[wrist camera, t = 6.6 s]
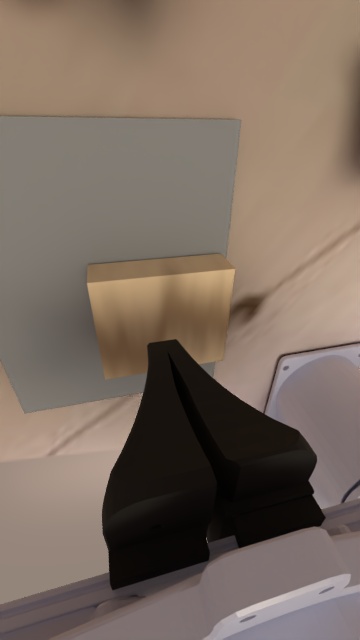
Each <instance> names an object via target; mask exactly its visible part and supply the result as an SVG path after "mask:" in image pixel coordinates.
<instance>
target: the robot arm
mask: <svg viewBox="0 0 360 640" xmlns="http://www.w3.org/2000/svg"><path fill="white" fill-rule="evenodd" d="M147 353H148V370H147V378H146V383H145V388H144V392H143V396H142V400H141V404H140V407H139V410H138V413H137V416H136V419H135V422H134V424H133V427H132V429H131V432H130V434H129V436H128V439H127V441H126V443H125V445H124V448H123V450H122V452H121V454H120V456H119V458H118V459H117V461H116V463H115V465H114V467H113V469H112V471H111V473H110V478H109V481H108V485H107V488H106V493H105V497H104V502H103V509H102V526H103V536H104V539H105V541H106V544H107V547H108V550H109V573H105V574H102V575H99V576H95V577H92V578H88V579H85V580H82V581H78V582H75V583H71V584H68V585H65V586H61V587H58V588H55V589H51V590H48V591H45V592H41V593H38V594H34V595H31V596H28V597H24V598H21V599H18V600H14V601H11V602H8V603H4V604H1V605H0V640H360V370H359V367H360V343H358V344H352V345H347V346H341V347H335V348H329V349H323V350H317V351H311V352H305V353H299V354H293V355H287V356H284V357H282V358H281V359H280V361H279V364H278V368H277V371H276V375H275V378H274V382H273V386H272V389H271V393H270V396H269V400H268V404H267V407H266V411H265V414H264V413H262V412H260V411H258V410H256V409H255V408H253V407H252V406H250V405H248V404H247V403H245V402H244V401H242V400H240V399H239V398H238V397H236V396H235V395H233V394H232V393H231V392H229V391H228V390H227V389H225V388H224V387H223V386H222V385H220V384H219V383H218V382H217V381H216V380H215V379H214V378H212V377H211V376H210V375H209V374H208V373H207V372H206V371H205V370H204V369H203V368H202V367H201V366H200V365H199V364H198V363H197V362H196V361H195V360H194V359H193V358H192V357H191V356H190V354H189V353H188V352H187V351H186V350H185V349H184V347H183V346H182V345H181V344H180V342H179V341H178V340H177V339H173V340H166V341H159V342H152V343H149V344H148V345H147ZM319 505H320V506H321V507H322V508H324V509H320V507H319ZM206 537H207V540H206ZM207 541H208V543H207Z"/></svg>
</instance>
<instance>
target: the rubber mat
mask: <svg viewBox="0 0 360 640" xmlns="http://www.w3.org/2000/svg"><path fill="white" fill-rule="evenodd" d="M240 127H241V120H229V119H162V118H94V117H27V116H0V360H1V363H2V365H3V367H4V369H5V371H6V374H7V376H8V378H9V380H10V382H11V385H12V387H13V389H14V391H15V393H16V396H17V398H18V400H19V402H20V404H21V407H22V409H23V411H24V413H30V412H36V411H42V410H47V409H53V408H58V407H64V406H70V405H75V404H81V403H87V402H92V401H98V400H104V399H109V398H115V397H120V396H126V395H132V394H137V393H143V392H144V388H145V383H146V378H147V373H142V374H136V375H130V376H124V377H118V378H111V379H105V377H104V371H103V366H102V361H101V355H100V350H99V345H98V339H97V334H96V329H95V323H94V318H93V313H92V308H91V302H90V297H89V292H88V286H87V265H91V264H103V263H115V262H126V261H138V260H150V259H162V258H174V257H186V256H197V255H209V254H222V255H223V256H224V257H225V258H226V256H227V247H228V237H229V228H230V219H231V210H232V201H233V192H234V182H235V173H236V164H237V155H238V146H239V137H240ZM199 365H200V366H201V367H202V368H203V369H204V370H205V371H206V372H207V373H208V374H209V375H210V376H211V377H212V378H213V375H214V366H215V362H209V363H203V364H199Z"/></svg>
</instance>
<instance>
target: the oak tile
mask: <svg viewBox="0 0 360 640" xmlns="http://www.w3.org/2000/svg"><path fill="white" fill-rule="evenodd" d="M234 275H235V268H234V267H233V266H232V265H231V264H230V263H229V262H228V261H227V259H226V258H225V257H224V256H223V255H222V254H209V255H197V256H186V257H174V258H162V259H150V260H138V261H126V262H115V263H103V264H91V265H87V286H88V292H89V297H90V302H91V308H92V313H93V318H94V323H95V329H96V334H97V339H98V345H99V350H100V355H101V361H102V366H103V371H104V377H105V379H111V378H118V377H124V376H130V375H136V374H142V373H147V370H148V353H147V345H148V344H149V343H152V342H159V341H166V340H173V339H177V340H178V341H179V342H180V344H181V345H182V346H183V347H184V349H185V350H186V351H187V352H188V353H189V354H190V356H191V357H192V358H193V359H194V360H195V361H196V362H197V363H198V364H203V363H209V362H215V361H221V360H223V359H224V351H225V344H226V336H227V328H228V321H229V313H230V305H231V298H232V290H233V282H234Z"/></svg>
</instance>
